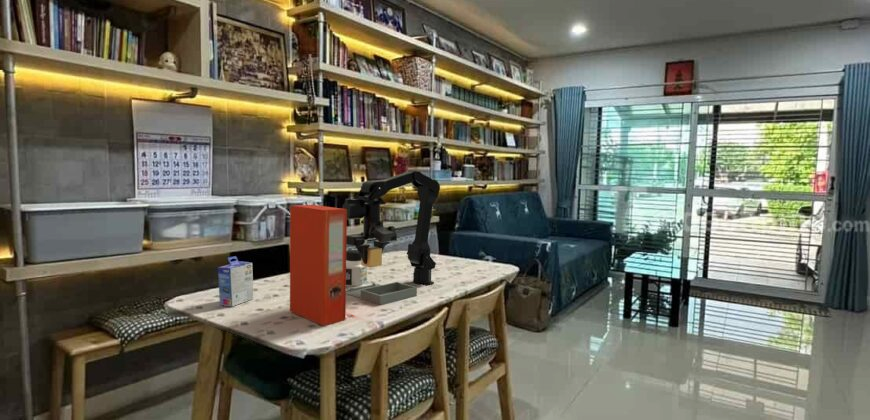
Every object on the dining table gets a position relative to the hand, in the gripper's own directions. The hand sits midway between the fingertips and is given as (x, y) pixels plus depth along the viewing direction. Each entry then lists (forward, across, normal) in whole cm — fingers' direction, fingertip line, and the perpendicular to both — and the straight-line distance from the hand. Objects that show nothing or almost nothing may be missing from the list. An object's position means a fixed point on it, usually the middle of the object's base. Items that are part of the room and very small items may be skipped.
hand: (371, 262), depth 162 cm
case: (+11, 0, -10) cm, 14 cm away
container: (+11, +3, +14) cm, 18 cm away
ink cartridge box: (+11, -38, +20) cm, 45 cm away
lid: (+11, 0, +1) cm, 11 cm away
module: (+1, 0, 0) cm, 1 cm away
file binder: (+11, -27, -8) cm, 30 cm away
